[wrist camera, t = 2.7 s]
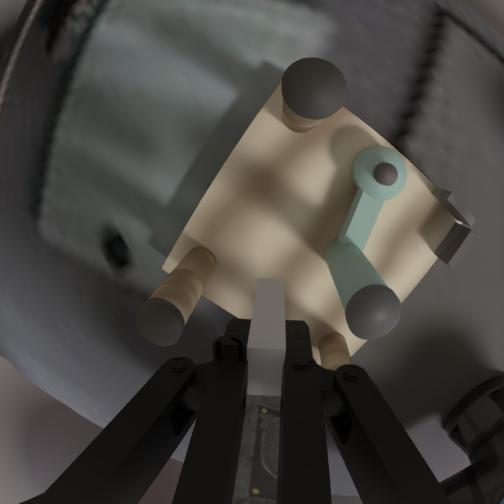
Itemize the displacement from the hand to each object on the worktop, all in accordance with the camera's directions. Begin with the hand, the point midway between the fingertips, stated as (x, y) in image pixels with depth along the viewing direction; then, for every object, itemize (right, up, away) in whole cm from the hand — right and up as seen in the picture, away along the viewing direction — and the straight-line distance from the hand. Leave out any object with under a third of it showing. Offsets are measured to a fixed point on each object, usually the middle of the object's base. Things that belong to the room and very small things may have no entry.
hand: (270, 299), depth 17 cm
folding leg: (+8, +6, +7) cm, 13 cm away
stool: (+5, +4, +11) cm, 13 cm away
